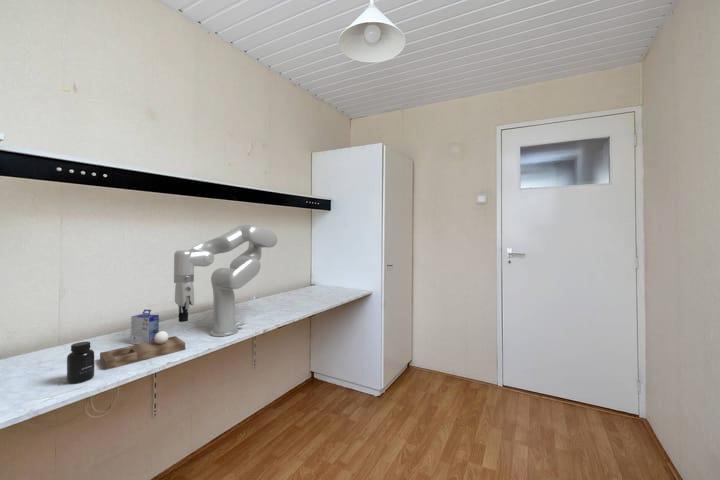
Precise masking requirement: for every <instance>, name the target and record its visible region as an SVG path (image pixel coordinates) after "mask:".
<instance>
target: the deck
mask: <svg viewBox="0 0 720 480" xmlns="http://www.w3.org/2000/svg"><path fill="white" fill-rule="evenodd" d="M180 351H181V352H182V351H186V342H185V341H184V340H182V339H181V338H179V337H177V335H176V336H170V337H169V338H168V340H167V341H166V342H165V343H163V344H158V343H156V342H155V341H151V342H146V343H142V344H132V345H130V346H124V347H119V348H115V349H112V350H107V351H103V352H102V351H101V352H100V353H99V361H100V362H101V364H102V365H103V367H104V369H105V370H106V371H107V370H110V369H114V368H118V367H122V366H126V365H130V364H134V363H139V362H143V361H146V360H150V359H155V358H158V357H162V356H166V355H169V354H172V353H173V354H174V353H177V352H180Z"/></svg>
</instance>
